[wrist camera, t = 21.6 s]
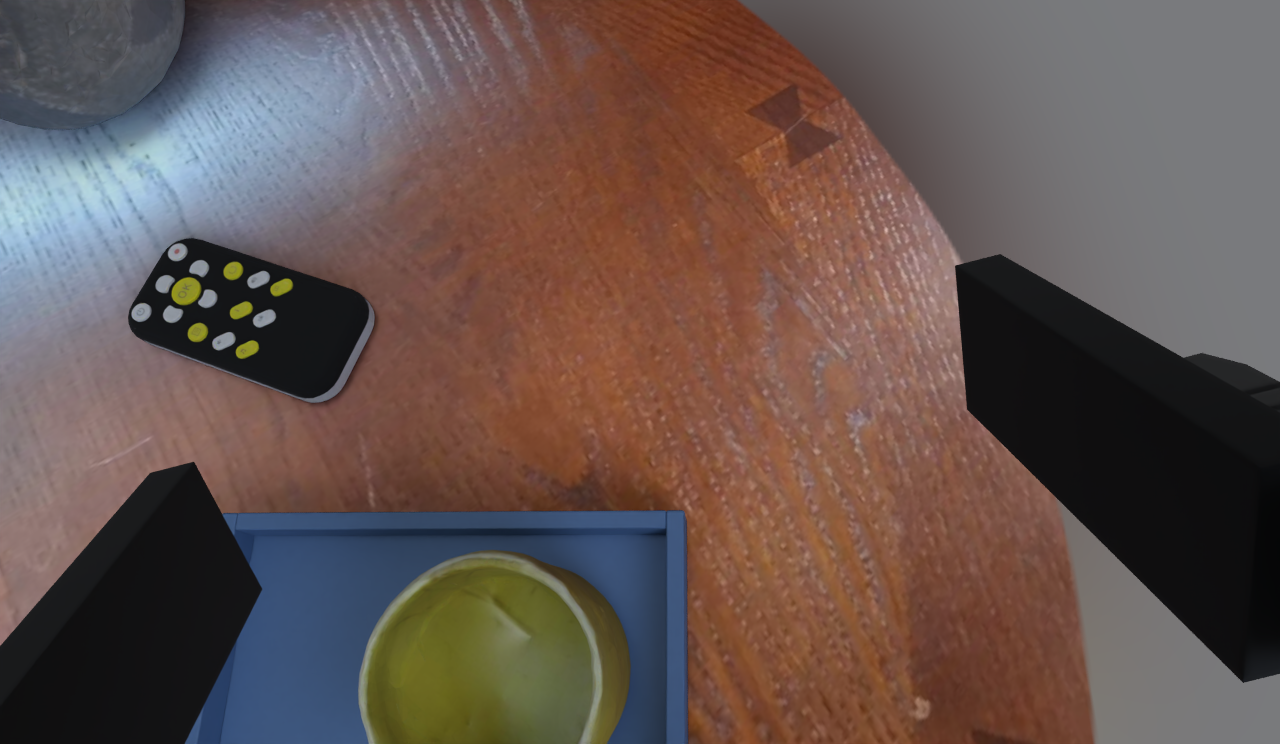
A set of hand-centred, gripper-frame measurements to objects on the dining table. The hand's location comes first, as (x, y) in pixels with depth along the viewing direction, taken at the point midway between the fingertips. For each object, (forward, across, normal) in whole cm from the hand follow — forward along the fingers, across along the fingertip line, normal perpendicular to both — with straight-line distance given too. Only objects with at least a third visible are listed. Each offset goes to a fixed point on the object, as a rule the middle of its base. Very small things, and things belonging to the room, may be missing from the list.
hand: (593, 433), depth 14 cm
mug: (+16, -9, -20) cm, 27 cm away
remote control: (+31, -18, -5) cm, 37 cm away
